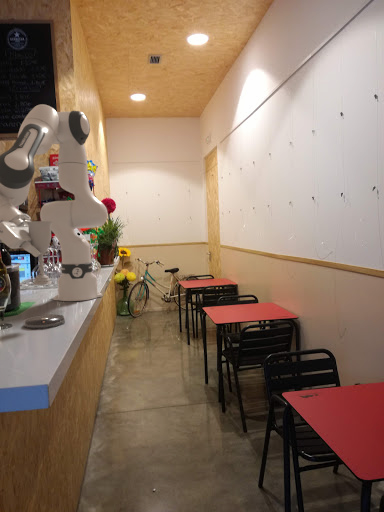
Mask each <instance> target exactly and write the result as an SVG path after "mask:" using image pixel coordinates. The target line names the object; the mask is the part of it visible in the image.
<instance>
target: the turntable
mask: <svg viewBox="0 0 384 512" xmlns="http://www.w3.org/2000/svg"><path fill="white" fill-rule="evenodd" d="M65 322H66V320H65V316H64V315H62V314H42V315H36V316H31V317H28V318H27V319H25V321H24V328H26V329H28V330H29V329H30V330H43V329H50V328H56V327H59V326H62V325H64V324H65Z"/></svg>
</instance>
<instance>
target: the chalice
mask: <svg viewBox="0 0 384 512" xmlns="http://www.w3.org/2000/svg"><path fill="white" fill-rule="evenodd" d="M27 224H28V226H29V236H30V237H31V241H30V242H31V245H32V246H34V247H35V248H36V249H38V250H39V251H41V254H40V256H38V257H39V258H38V263H39V266H38V269H39V274H38V275H37V276H36V277H35V279H34V281H33V286H43V285H44V286H45V285H51V284H52V281H51V279H50V278H49V276H48V275H46V274H45V271H44V269H45V265H44V262H45V259H44V255H43V254H44V253H46V251H47V249H48V250H49V246H50V244H51V242H52V241H51V240H52V231H51V224H52V221H41V220H33V221H32V220H30V222H27Z"/></svg>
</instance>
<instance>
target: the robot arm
mask: <svg viewBox="0 0 384 512" xmlns="http://www.w3.org/2000/svg"><path fill="white" fill-rule="evenodd" d="M90 131H91V124H90V121H89V119H88V117H87V115H86V114H85V113H84V112H83V111H78V110H71V111H56V109H55V108H54V107H52V106H50V105H47V104H43V103H42V104H38V105H36V106H34V107H33V108H32V109H31V110H30V111H29V112H28V114H26V116H25V117H24V120H23V121H22V123H21V125H20V127H19V131H18V133H17V139H16V140H15V142H14V143H13V145H12V146H11V147H10V148H9V149H8V150H7V151H4V152H2V154H0V241H1V242H2V243H3V244H4V245H6V246H7V247H8V248H10V249H12V250H13V249H23V250H24V251H26V252H28V253H30V254H31V255H32V256H33V257H35V258H37V257H40V254H41V251H39V250H38V249H36V248H35V247H34V246H32V245H31V242H30V241H31V237H30V236H29V226H28V224H27V222H30V221H32V218H31V216H29V214H27V213H24V212H23V211H21V210H19V208H18V207H19V206H22V205H23V204H24V203H25V202H26V201H27V199H28V195H29V192H30V187H31V184H32V180H33V177H34V174H35V163H34V158H35V156H43V155H45V154H47V153H48V151H50V149H51V147H52V146H53V145H58V146H59V149H58V156H57V157H58V161H57V167H58V173H57V174H58V184H59V186H60V187H61V189H63V190H64V191H66V192H68V193H70V194H73V195H74V196H73V197H74V200H56V201H49V202H46V203H44V204H43V205H42V206H41V208H40V212H39V216H40V221H52V224H51V233H53V234H54V235H55V236H56V238H57V240H58V243H59V245H60V253H61V265H60V271H61V274H60V277H59V278H57V295H55V296H54V297H53V301H60V302H61V301H63V302H78V301H80V302H81V301H88V300H93V299H96V298H102V297H103V293H101V292H99V291H98V278H97V276H96V275H95V274H94V273H93V262H92V257H91V253H92V252H91V244H90V242H89V241H88V240H87V239H84V238H83V237H81V236H78V235H77V234H76V231H75V229H94V228H98V227H102V226H104V225H105V223H106V222H107V220H108V215H109V214H108V208H107V206H106V205H105V204H104V203H103V202H102V201H100V200H99V199H98V198H97V197H96V196H95V194H94V193H93V192H92V189H91V187H90V183H89V182H90V181H89V175H88V173H89V172H88V170H89V169H88V157H87V152H86V147H85V143H86V141H87V140H88V137H89V135H90ZM49 253H50V250H49V248H48V249H47V251H46V253H44V254H43V256H48V255H49Z"/></svg>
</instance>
